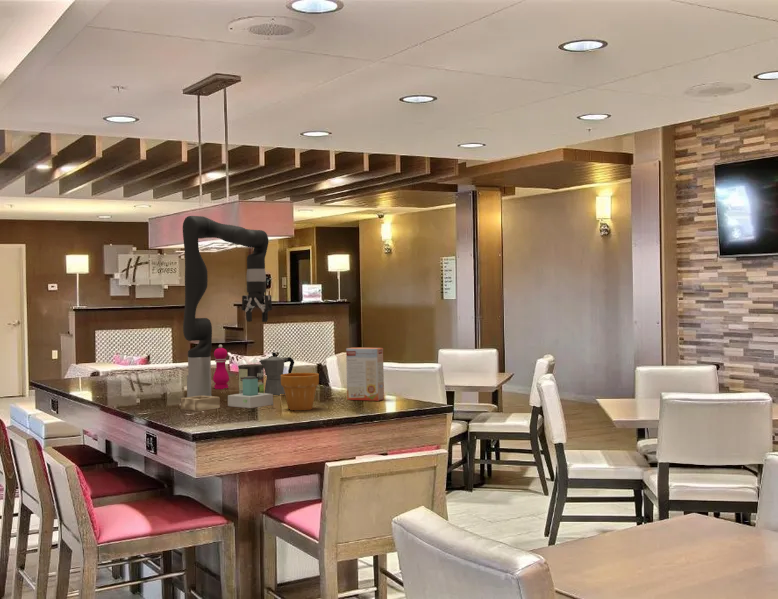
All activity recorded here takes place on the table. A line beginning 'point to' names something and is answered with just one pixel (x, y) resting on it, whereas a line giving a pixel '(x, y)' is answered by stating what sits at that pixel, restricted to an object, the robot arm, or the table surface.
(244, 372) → the coffee can
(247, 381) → the plug
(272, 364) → the coffeepot
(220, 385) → the pepper mill
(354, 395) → the cracker box
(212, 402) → the holster
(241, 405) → the port
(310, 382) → the flower pot
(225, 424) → the table surface
